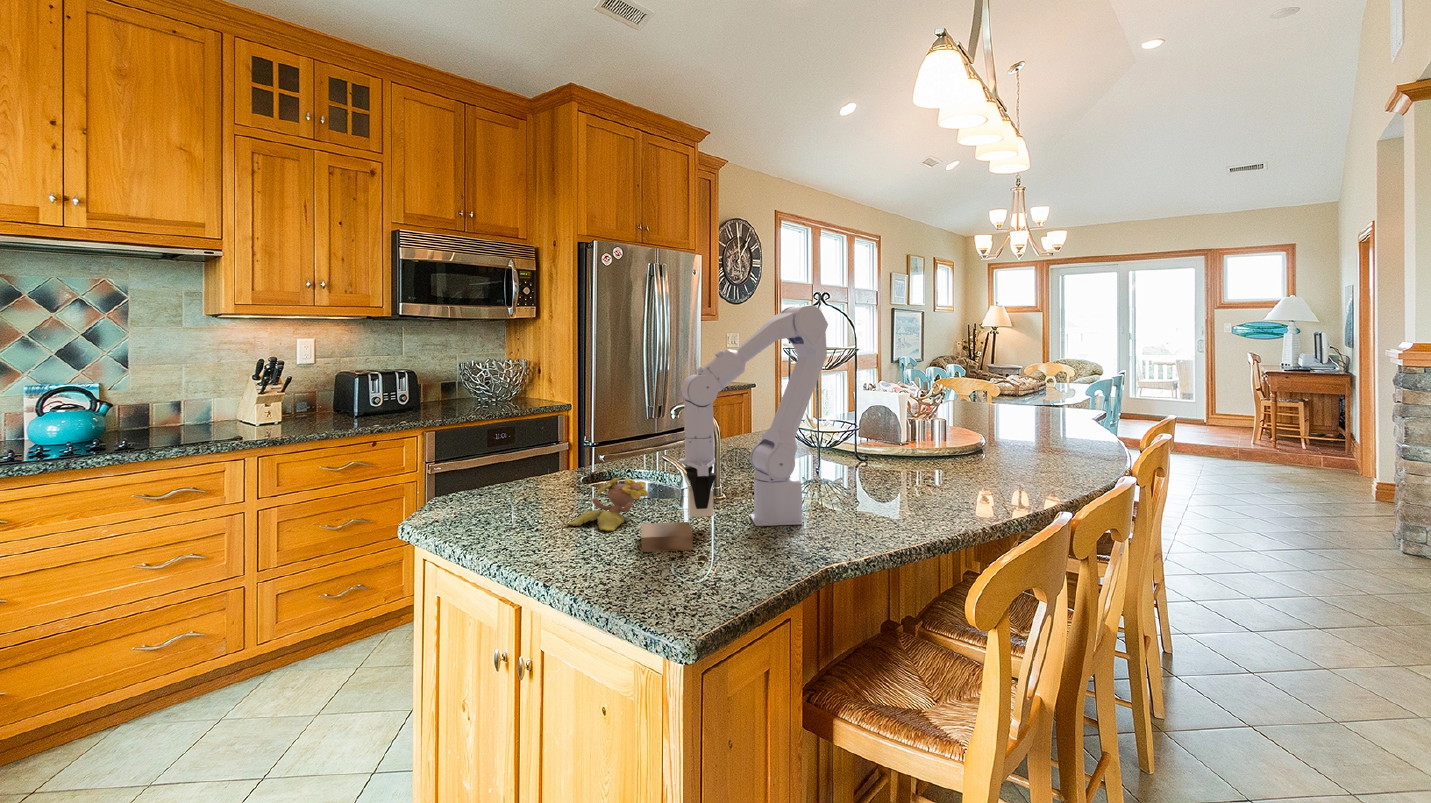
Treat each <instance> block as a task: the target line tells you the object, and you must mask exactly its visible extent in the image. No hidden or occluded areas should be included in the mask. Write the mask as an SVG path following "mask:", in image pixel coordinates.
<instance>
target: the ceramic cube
mask: <svg viewBox="0 0 1431 803" xmlns="http://www.w3.org/2000/svg"><path fill="white" fill-rule="evenodd" d="M687 513H688V516H689V517H690V518H697V517H699V518H700V517H714V491H713V488H712V487H711V491H710V497H709V503H708V507H707V509H697V508H696V505H695V501H694V495H693V490H692V486H691V485H689V486H688V485H687Z"/></svg>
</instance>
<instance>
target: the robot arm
mask: <svg viewBox="0 0 1431 803" xmlns="http://www.w3.org/2000/svg"><path fill="white" fill-rule="evenodd" d="M828 326H829V323H828V321H827V319H826V318H825V316H824V313H823V312H822V310H821V309H820V308H819V307H817V306H815V305H813V304H807V305H804V306H787V307H785V308H784V309H783V310H782V311H781V312H779V313H776V314H775V315H773V316H772V317H771V318H770V319H769V320H768V321H767V322H766V323H764V324H763V325H762V326H761V327H759V329H757V331H755V332H754V333H753V334H752V335H750V336H749V337H748V338H747V339H746V340H745V341H744V342H742V343H741V344H740V345H739V346H738V347H737V348H736V349H729V348H727V349H724V350H723V351H722V350H718V351H717V352H715V354H714V355H715V357H714V358H713V359H712V360H711V361H709V362H708V363H706V364H705V366H703V367H702V366H698V368H697V369H696V372H697V374H692V375H689V376H687V377H686V378H685V379H684V380H683V381H682V384H681V387H680V389H679V394H680V396H681V398H682V400H684V401H683V402H684V403H683V404H684V405H683V406H684V408H683V410H684V411H683V412H684V413H683V417H684V418H683V419H684V420H683V425H684V426H683V427H684V428H683V429H684V458H679V459H678V464H680V465H686V466H684V471H685V472H686V477H687V478H688V480H689V483H690V486H692V490H693V495H694V501H695V505H696V508H697V509H707V507H708V503H709V497H710V491H711V488H712V486H713V484H714V482H715V480H716V478H717V473H716V472H712V471H713V469H714V466H713V465H715V464H716V458H715V438H714V437H715V433H714V432H715V430H714V429H715V427H714V424H715V423H714V422H715V421H714V416H715V415H714V402H715V401H716V399H717V397H718V393H719V392H721V391H722V390H724V389H725V388H726V387H727V386H729V385H730V384H731V383H732V382H733V381H735V380H736V379H737V378H738V377H739V376H741V375H742V374H744V373H745V368H746V364H747V363H748V362H749V361H750V360H751V359H753V358H754V357H756V356H757V355H758V354H760V353H761V352H762V351H763V350H765V349H767V348H769V346H771V345H772V344H774V343H775V342H776V341H778V340H782V339H783V340H785V339H787V341H789V343H791V344H792V346H793V348H794V351H795V353H796V355H797V359H796V362H795V364H794V366H793V369H792V371H791V374H790V376H789V380H788V382H787V384H786V387H785V389H784V393H783V394H782V397H781V400H780V402H779V404H778V407H777V409H776V413H775V415H774V417H773V420H772V423H771V425H770V427H769V428H768V429H767V430H766V431H765V432H764V433H762V436H761V438H760V440H759V442H758V443H757V444H756V445H754V447H753V448H752V449H751V452H750V456H749V459H750V464H751V466H752V467H753V469H754V470H755V472H754V477H753V478H754V479H753V482H754V488H753V489H754V493H753V494H754V495H753V496H754V497H753V498H754V505H753V506H754V508H753V510H754V512H753V513H750V514H749V517H750V519H751V520H752V522H753V523H754V525H755V526H756V527H767V526H791V525H792V526H793V525H803V490H802V488H803V487H802V483H801V480H800V478H799V477H792V476H791V475H792V474H793V472H794V470H795V467H796V453H797V450H798V444H797V441H796V436H797V434H798V430H799V428H800V425H801V423H802V420H803V418H804V415H805V413H806V410H807V408H808V406H809V402H810V399H811V397H812V395H813V393H814V390H815V387H816V385H817V382H818V380H819V378H820V374H821V372H822V369H823V367H824V364H825V362H826V359H827V356H828V353H827V352H828V347H827V335H826V332H827V329H828Z"/></svg>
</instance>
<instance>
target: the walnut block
mask: <svg viewBox="0 0 1431 803" xmlns="http://www.w3.org/2000/svg"><path fill="white" fill-rule="evenodd" d="M640 526H641V534H640V536H641V553H649V552H650V553H651V552H652V553H653V552H669V551H670V552H671V551H675V552H676V551H693V549H694V547H693V544H694V542H693V540H694V539H693V538H694V537H693V532H692V529H691V525H690V522H689V521H680V522H679V521H677V522H655V523H654V522H651V523H650V522H649V523H641V524H640Z"/></svg>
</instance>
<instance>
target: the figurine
mask: <svg viewBox="0 0 1431 803" xmlns="http://www.w3.org/2000/svg"><path fill="white" fill-rule="evenodd" d="M621 479H622V477H621V476H619V477H615V478H612V479H611V480H610V481H607V483H605V484H604V485H603V486H601V488H599V489H598V491H596V494H595V495H599V494H602V493H603V492H606V491H607V490H608V491H607V497H608V499H609V500H610V502H611V503H612V505H605V504H603V503H602V502H601V501H599V500H598V499H597V498H596V497H593V498H592V499H591V501H592V503H593V505H594V506H595V507H596V508H599V509H600V510H597V509H596V510H591V511H585V512H582V513H581V514H579V516H578V517H576V518H575V519H574V520H573V521H570V522H565V524H566V525H567V526H573V527H575V526H576V527H578V526H582V525H583V524H586V523H587V522H588V521H591V522H592V521H594V520H596V519H597V525H598V529H599V530H601V531H605V532H606V531H607V532H611V531H612V532H615V530H617V528H618V527H620V525H621V524H623V523H624V521H625V518H624V516H623V515H621V514H620V513H628V512H629V511H630V510H631V509H632V507H633V504H634V502H635V501H636V500H638V499H640V498H642V497H648V496H650V495H649V492H648V490H646V489H645V488H646V482H645V481H641V480H639V481H636V480H633V479H631V478H629V477H625V479H624V484H623V483H617V482H618V481H620V480H621ZM614 483H617V484H614Z"/></svg>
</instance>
